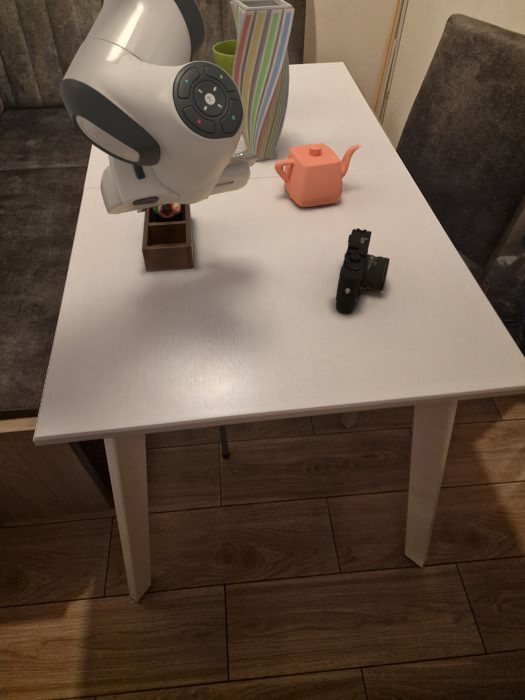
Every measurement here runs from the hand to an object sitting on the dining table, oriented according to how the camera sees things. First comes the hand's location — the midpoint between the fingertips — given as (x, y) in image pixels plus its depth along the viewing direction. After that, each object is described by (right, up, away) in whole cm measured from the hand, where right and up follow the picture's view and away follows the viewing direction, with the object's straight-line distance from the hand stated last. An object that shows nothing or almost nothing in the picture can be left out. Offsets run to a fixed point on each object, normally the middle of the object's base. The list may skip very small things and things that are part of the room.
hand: (171, 200), depth 73 cm
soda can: (-3, 0, +17) cm, 18 cm away
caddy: (-3, -3, +15) cm, 16 cm away
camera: (+30, -13, +7) cm, 33 cm away
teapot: (+25, +10, +29) cm, 39 cm away
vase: (+13, +23, +42) cm, 50 cm away
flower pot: (+9, +42, +59) cm, 73 cm away
